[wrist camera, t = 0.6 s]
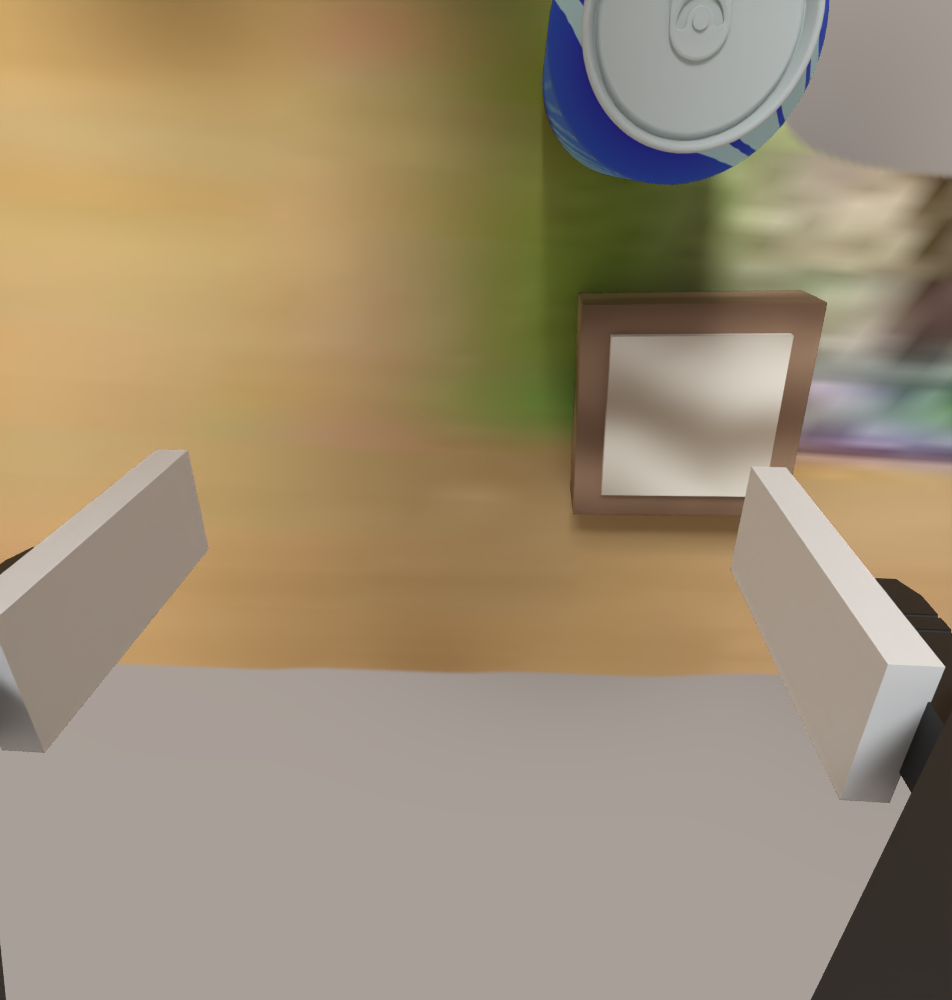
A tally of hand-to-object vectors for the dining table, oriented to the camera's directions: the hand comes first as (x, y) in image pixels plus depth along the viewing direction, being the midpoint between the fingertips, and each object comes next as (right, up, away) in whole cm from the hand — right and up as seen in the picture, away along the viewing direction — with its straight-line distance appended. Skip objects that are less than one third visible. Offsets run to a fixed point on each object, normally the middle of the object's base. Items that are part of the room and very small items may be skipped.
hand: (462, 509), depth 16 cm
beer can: (+8, +21, +17) cm, 28 cm away
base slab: (+12, +6, +24) cm, 27 cm away
